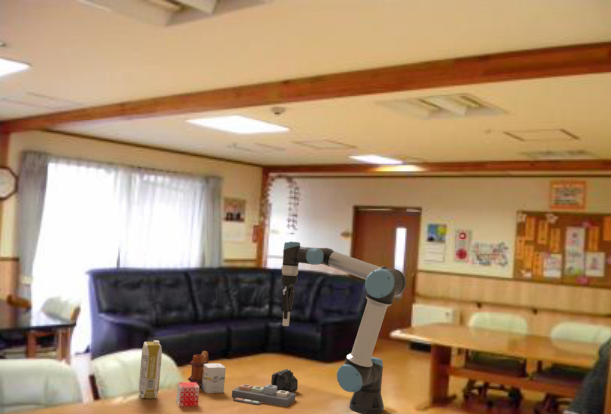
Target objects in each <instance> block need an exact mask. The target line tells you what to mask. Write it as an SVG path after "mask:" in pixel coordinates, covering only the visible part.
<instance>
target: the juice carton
mask: <svg viewBox="0 0 611 414" xmlns="http://www.w3.org/2000/svg"><path fill="white" fill-rule="evenodd" d="M162 356H163V349H162V345H161V344H160V340H153V341H144V342H143V345H142V349H141V358H140V359H141V360H140V369H139V379H138V380H139V381H138V390H139V396H140V398H141V399H142V398H146V399H157V397H158V394H159V389H160V379H161V378H160V377H161V367H162V358H163V357H162Z"/></svg>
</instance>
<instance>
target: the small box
mask: <svg viewBox="0 0 611 414" xmlns="http://www.w3.org/2000/svg"><path fill="white" fill-rule="evenodd" d="M199 396H200V387H199V386H198V384H197V383H196V382H190V381H189V382H188V381H187V382H179V381H178V382H177V389H176V398H175V401H176V403H177V405H178V407H198V406H199Z"/></svg>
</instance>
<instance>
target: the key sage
mask: <svg viewBox="0 0 611 414" xmlns="http://www.w3.org/2000/svg"><path fill="white" fill-rule="evenodd" d="M251 392H257V393H262V392H264V386H263V387H262V386H257V385H255V386H254V387H253V388H251Z"/></svg>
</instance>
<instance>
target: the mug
mask: <svg viewBox="0 0 611 414" xmlns="http://www.w3.org/2000/svg"><path fill="white" fill-rule="evenodd" d="M204 364H209V351H206V350H202V352H201V354H193V356H192V359H191V361H190V362H189V365H191V373H190V374H191V375H190V376H189V377H188V378H187V380H188V381H189V382H196V383H197V384H198V386H199V388H200V387H201V388H202V379H203V367H204Z"/></svg>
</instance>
